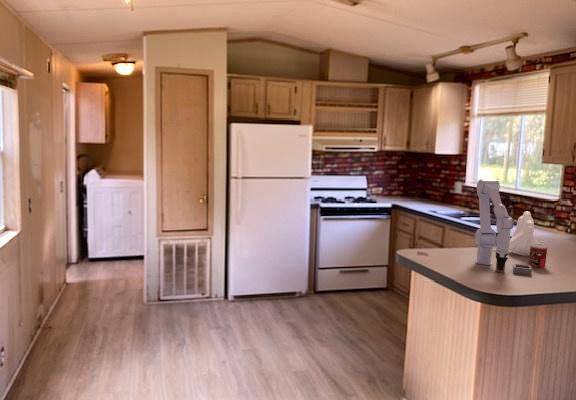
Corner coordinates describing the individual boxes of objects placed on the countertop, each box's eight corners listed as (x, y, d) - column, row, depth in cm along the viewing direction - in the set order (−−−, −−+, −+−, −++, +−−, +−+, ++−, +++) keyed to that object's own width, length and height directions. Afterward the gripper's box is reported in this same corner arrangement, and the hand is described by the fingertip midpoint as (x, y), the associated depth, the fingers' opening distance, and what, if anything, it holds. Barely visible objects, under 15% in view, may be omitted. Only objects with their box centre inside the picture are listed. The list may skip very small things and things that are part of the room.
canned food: (525, 265, 270) (527, 244, 269) (536, 264, 274) (538, 244, 272) (537, 269, 263) (539, 248, 262) (548, 268, 267) (550, 247, 265)
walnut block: (495, 269, 258) (496, 258, 257) (504, 271, 257) (505, 259, 256) (495, 271, 255) (496, 260, 254) (504, 272, 253) (505, 261, 252)
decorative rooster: (508, 249, 308) (512, 208, 304) (537, 253, 300) (542, 211, 297) (504, 257, 286) (509, 213, 282) (535, 262, 278) (540, 216, 275)
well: (512, 269, 260) (513, 263, 260) (529, 271, 257) (530, 265, 257) (513, 273, 253) (513, 267, 252) (530, 275, 250) (531, 269, 249)
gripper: (494, 238, 262) (491, 264, 264) (494, 243, 248) (491, 270, 250) (509, 239, 259) (506, 265, 261) (510, 245, 246) (507, 272, 248)
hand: (500, 268), depth 255 cm, fingers open, 7 cm apart
